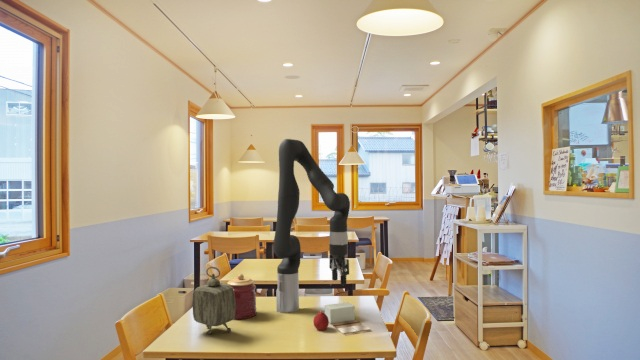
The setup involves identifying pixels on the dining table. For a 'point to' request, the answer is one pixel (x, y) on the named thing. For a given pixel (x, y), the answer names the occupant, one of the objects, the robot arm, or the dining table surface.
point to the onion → (321, 321)
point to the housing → (340, 312)
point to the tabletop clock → (214, 303)
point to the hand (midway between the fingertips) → (339, 282)
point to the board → (351, 327)
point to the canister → (244, 297)
